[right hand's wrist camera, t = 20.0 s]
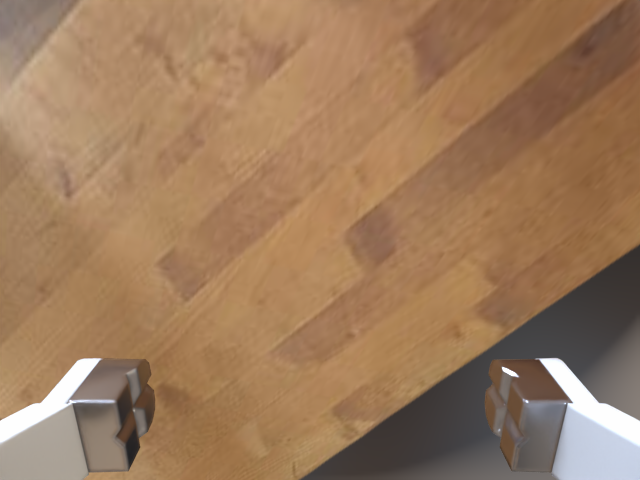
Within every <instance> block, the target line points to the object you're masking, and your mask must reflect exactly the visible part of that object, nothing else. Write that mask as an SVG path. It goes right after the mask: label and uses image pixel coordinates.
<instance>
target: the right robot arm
mask: <svg viewBox="0 0 640 480" xmlns="http://www.w3.org/2000/svg"><path fill="white" fill-rule="evenodd" d="M150 376H151V370H150V365H149V362H148V361H147V360H146V359H102V358H84V359H81V360H78V361H77V362H76V363H75V365H74V366H73V367H72V368H71V369H70V370H69V371H68V373H67V374H66V375H65V376H64V377H63V378H62V380H61V381H60V382H59V383H58V384H57V385H56V387H55V388H54V389H53V390H52V391H51V392H50V394H49V395H48V396H47V397H46V398H45V399H44V400H43V402H42V403H41V404H32V405H30V406H28V407H26V408H24V409H22V410H21V411H19V412H17V413H15V414H13V415H11V416H9V417H7V418H5V419H3V420H1V421H0V480H83V479H84V478H85V477H86V476H88V475H89V473H88V472H120V471H129V469H130V467H131V465H132V463H133V461H134V459H135V457H136V455H137V453H138V451H139V449H140V443H139V438H140V437H141V436H143V435H144V434H145V433H147V432H148V430H149V428H150V426H151V423H152V420H153V416H154V411H155V395H154V390H153V389H152V388H151V387H150V386H149V385H148V384H147V382H148V380H149V378H150ZM489 376H490V378H491V380H492V382H493V384H492V385H491V386H490V387H489V388H488V389H487V390H486V396H485V410H486V417H487V420H488V423H489V426H490V428H491V430H492V432H493V433H495V434H496V435H498V436H499V437H500V438H501V443H500V449H501V451H502V453H503V455H504V457H505V459H506V461H507V463H508V465H509V467H510V469H511V471H519V472H552V473H551V474H552V475H553V476H554V477H555V478H556V479H557V480H640V421H639V420H637V419H635V418H633V417H631V416H629V415H627V414H625V413H623V412H621V411H619V410H617V409H616V408H614V407H612V406H610V405H608V404H599V403H598V402H597V400H596V399H595V398H594V397H593V396H592V395H591V394H590V392H589V391H588V390H587V389H586V388H585V387H584V385H583V384H582V383H581V382H580V381H579V380H578V378H577V377H576V376H575V375H574V374H573V373H572V372H571V370H570V369H569V368H568V367H567V366H566V365H565V363H564V362H563V361H562V360H560V359H558V358H546V359H523V360H493V361H492V363H491V365H490V370H489Z"/></svg>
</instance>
